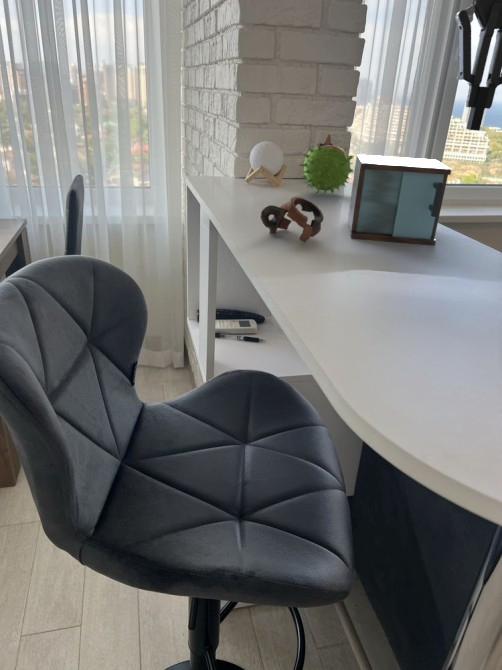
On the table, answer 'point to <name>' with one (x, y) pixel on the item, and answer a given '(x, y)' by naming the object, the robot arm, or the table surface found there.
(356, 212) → the display cabinet
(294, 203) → the two-tone looped frame
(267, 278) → the table surface
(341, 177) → the chestnut
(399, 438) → the table surface
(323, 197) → the table surface
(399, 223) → the glass door
